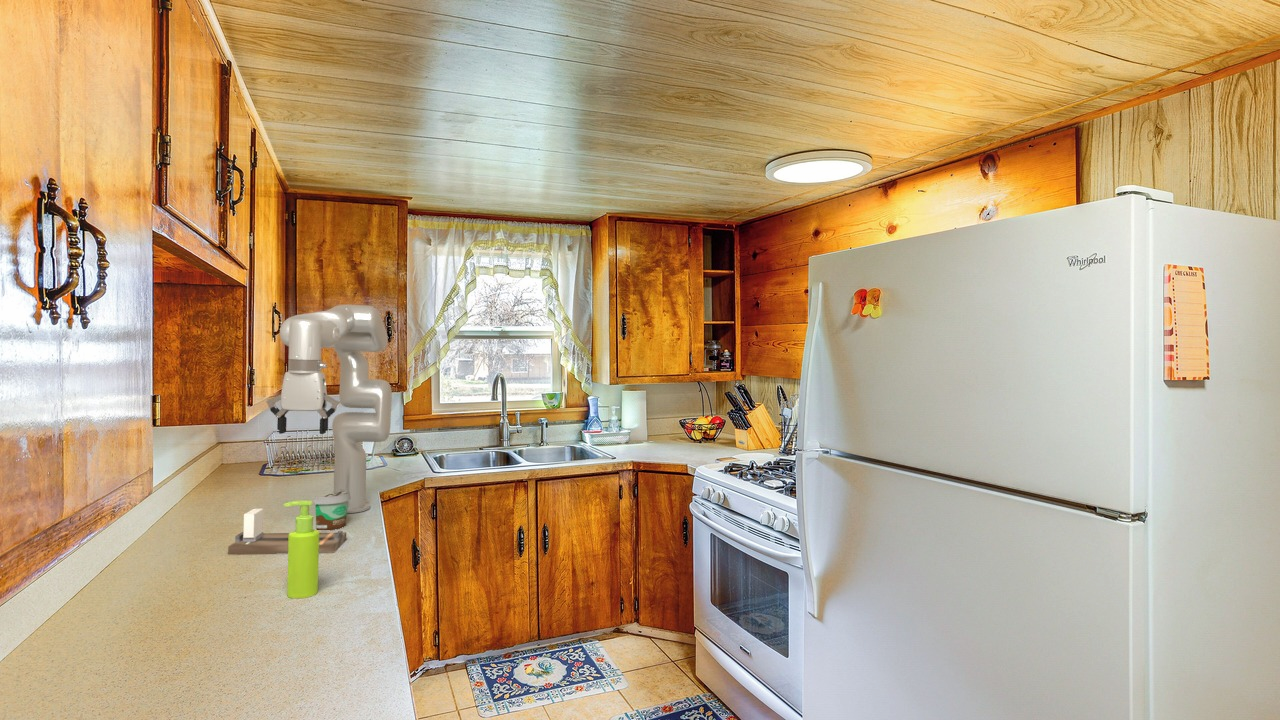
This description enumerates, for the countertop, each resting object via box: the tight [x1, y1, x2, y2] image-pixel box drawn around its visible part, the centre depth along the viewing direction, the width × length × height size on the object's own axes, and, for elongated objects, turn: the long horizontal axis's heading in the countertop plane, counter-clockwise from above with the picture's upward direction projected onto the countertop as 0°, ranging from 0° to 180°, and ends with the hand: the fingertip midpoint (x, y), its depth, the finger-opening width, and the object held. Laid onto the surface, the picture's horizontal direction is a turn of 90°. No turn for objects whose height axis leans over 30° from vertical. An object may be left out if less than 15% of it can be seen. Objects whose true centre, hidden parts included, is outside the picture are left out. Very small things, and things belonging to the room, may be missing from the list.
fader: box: [243, 508, 264, 542], centre depth 173 cm, size 6×3×7 cm, turn 10°
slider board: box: [227, 530, 347, 555], centre depth 175 cm, size 12×25×4 cm, turn 100°
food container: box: [313, 489, 351, 531], centre depth 195 cm, size 12×6×10 cm, turn 168°
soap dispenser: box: [283, 499, 320, 599], centre depth 143 cm, size 6×7×20 cm
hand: (302, 433), depth 171 cm, fingers open, 9 cm apart
